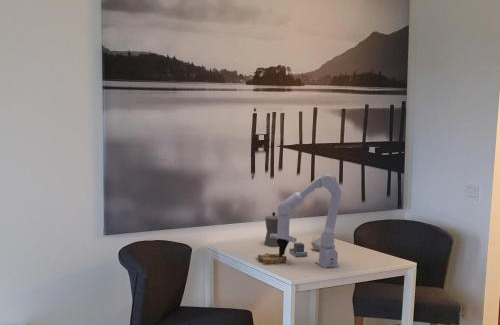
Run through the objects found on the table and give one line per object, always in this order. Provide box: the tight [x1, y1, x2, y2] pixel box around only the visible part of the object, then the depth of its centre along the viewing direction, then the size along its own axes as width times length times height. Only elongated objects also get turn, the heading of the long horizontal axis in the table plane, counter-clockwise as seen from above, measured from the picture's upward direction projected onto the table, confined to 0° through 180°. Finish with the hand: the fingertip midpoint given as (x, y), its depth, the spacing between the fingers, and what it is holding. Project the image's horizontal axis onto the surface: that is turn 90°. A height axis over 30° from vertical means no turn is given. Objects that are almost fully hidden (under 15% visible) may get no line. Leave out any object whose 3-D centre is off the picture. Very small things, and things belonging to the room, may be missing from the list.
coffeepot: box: [264, 212, 279, 248], centre depth 310 cm, size 15×9×18 cm, turn 29°
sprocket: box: [257, 247, 288, 264], centre depth 278 cm, size 14×14×6 cm
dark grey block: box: [293, 242, 305, 254], centre depth 291 cm, size 4×4×5 cm
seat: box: [289, 247, 309, 258], centre depth 292 cm, size 9×6×2 cm, turn 19°
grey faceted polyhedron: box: [310, 234, 322, 252], centre depth 303 cm, size 8×9×10 cm
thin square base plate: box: [254, 256, 290, 266], centre depth 278 cm, size 14×13×1 cm
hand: (282, 254), depth 278 cm, fingers closed
